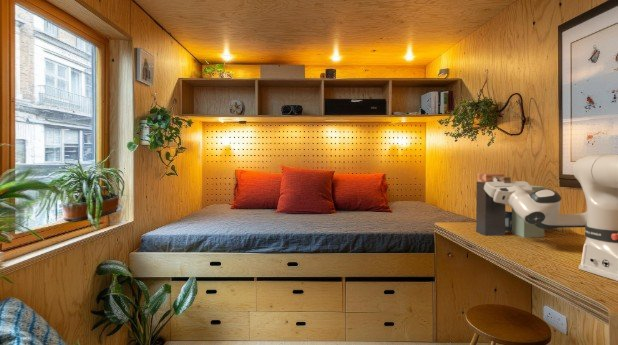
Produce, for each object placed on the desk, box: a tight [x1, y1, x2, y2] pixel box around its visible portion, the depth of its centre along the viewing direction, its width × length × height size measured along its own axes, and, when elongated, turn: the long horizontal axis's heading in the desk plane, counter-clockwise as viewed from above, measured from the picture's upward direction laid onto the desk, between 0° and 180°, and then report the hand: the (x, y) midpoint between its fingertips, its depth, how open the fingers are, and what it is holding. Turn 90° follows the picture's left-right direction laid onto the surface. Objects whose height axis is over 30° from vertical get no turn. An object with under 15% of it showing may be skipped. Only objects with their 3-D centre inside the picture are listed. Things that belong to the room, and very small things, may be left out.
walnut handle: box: [477, 172, 512, 183], centre depth 171 cm, size 18×9×4 cm, turn 2°
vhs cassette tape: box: [505, 210, 512, 233], centre depth 186 cm, size 18×3×10 cm, turn 45°
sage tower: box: [511, 184, 546, 239], centre depth 172 cm, size 10×10×24 cm
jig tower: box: [475, 181, 506, 237], centre depth 177 cm, size 8×10×26 cm
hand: (499, 178), depth 169 cm, fingers closed on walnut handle, 3 cm apart
